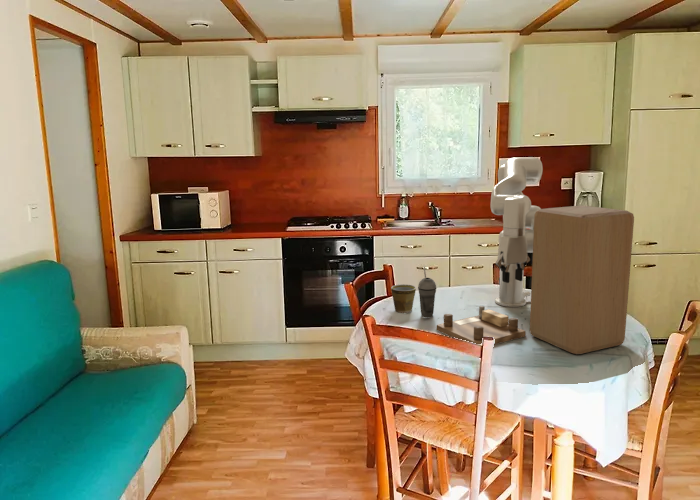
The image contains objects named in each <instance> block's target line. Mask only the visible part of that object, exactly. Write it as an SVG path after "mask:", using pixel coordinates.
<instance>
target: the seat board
mask: <svg viewBox="0 0 700 500" xmlns="http://www.w3.org/2000/svg"><path fill="white" fill-rule="evenodd" d="M483 310H486V309H485V306H484V305H480V306H479V308H478V315H474V316H471V317H465V318H462V319H457V320H454V319H453V318H454V314H452V313H445V314H443V322H442V323H438V324H436V329H435V330H436V331H437V332H440V333H442V334H444V335H446V336H448V337H451V338H453V337H455V338H458V339H462V340H466V341H469V342H473V343H476V344H481V343H482V338H483V336H489V337H494V339H495V344H494V345H498V344H502V343H505V342H509V341H513V340H517V339H521V338H524V337H526V336H527V335H526V333H527V332H526V330H524V329H521V328H519V318H516V317H510V318H509V319H508V325H507V326H503V327H500V326H497V325H495V324H492V323H490V322H487V321H484V320H482V311H483ZM455 338H454V339H455Z"/></svg>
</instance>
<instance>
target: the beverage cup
mask: <svg viewBox="0 0 700 500" xmlns="http://www.w3.org/2000/svg"><path fill="white" fill-rule="evenodd" d="M426 273H427V272H426V266H423V274H424V275H423V276H424V278H422V279H420V281H419V283H418V287H417V290H418V294H419V302H420V303H419V304H420V313H421V314H420V315H421V317H422V318H425V319H430V318H433V316H434V312H435V311H434V308H435V300H436V292H437V288H438V287H437V284H436V282H435V281H434V279H433V278H431V277H427V274H426Z"/></svg>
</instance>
